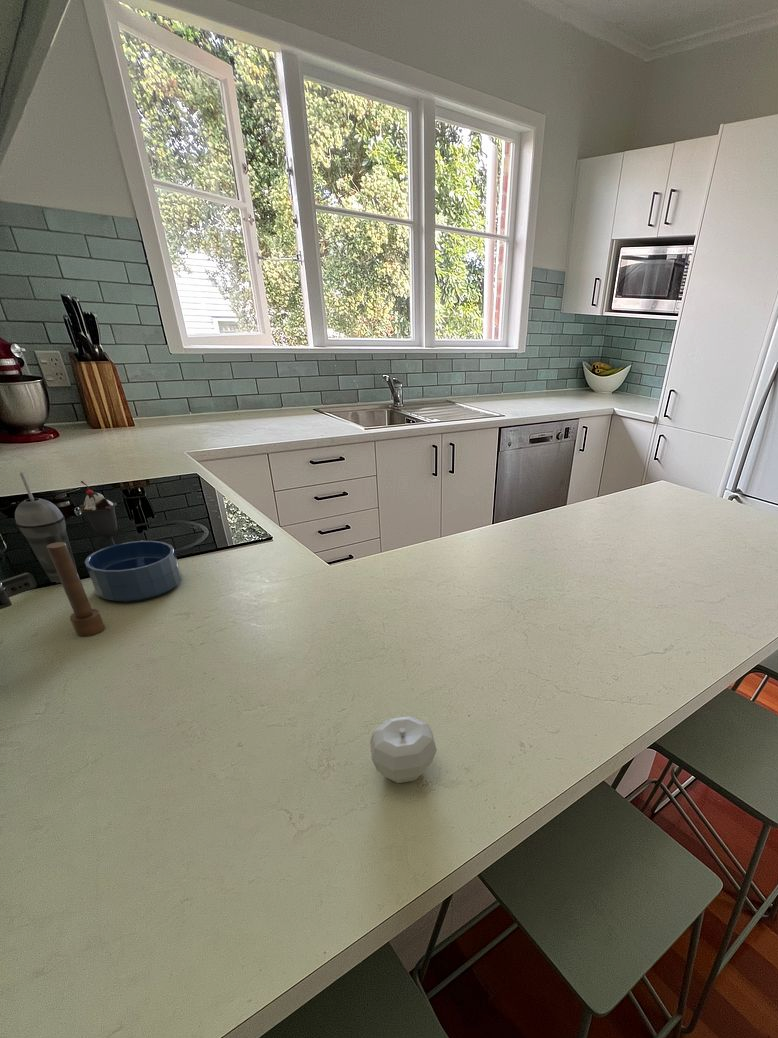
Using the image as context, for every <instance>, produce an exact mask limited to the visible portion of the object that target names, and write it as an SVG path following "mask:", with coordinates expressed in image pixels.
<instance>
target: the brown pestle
mask: <svg viewBox="0 0 778 1038" xmlns="http://www.w3.org/2000/svg"><path fill="white" fill-rule="evenodd" d="M47 549H48V552H49V554H50V556H51V559H52V561H53V564H54V566H55V568H56V571H57V573H58V576H59V578H60V580H61V583H60V584H61V585H62V588H63V590H64V592H65V595H66V597H67V599H68V603H69V604H70V607H71V610H72V611H73V613H71V615H70V616H69V620H70V622H71V625H72V627H73V630H74V631H75V633H76V635H77V636H79V637H92V636H95V635H97V634H100V633H101V632H103V631H104V630H105V628H106V627H105V623H104V621H103V619H102V616H101V614H100V611H99V610H98V609H96V608H92V607H91V603H90V601H89V599H88V595H87V594H86V591H85V589H84V586H83V584H82V581H81V578H80V576H79V573H78V570H77V571H76V569H77V567H76V568H75V566H74V563H73V561H72V558H71V556H70V553H69V551H68V548H67V546H66V543H64V542H56V543H52V544H49V545H47Z"/></svg>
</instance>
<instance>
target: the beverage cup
mask: <svg viewBox="0 0 778 1038" xmlns="http://www.w3.org/2000/svg"><path fill="white" fill-rule="evenodd" d="M19 476H20V477H21V480H22V482H23V485H24V488H25V490H26V492H27V495H28V498H26V499H24V500H22V501H21V502H20V503H19V504H18V505H17V507H16V508H15V511H14V521H15V525H16V527H17V528H18V529H19V530H20V532H21V533H22V535H23V536H24V537H25V538H26V540H27V542H28V544H29V546H30V547H31V549H32V551H33V552H34V555H35V557H36V559H37V560H38V562H39V564H40V565H41V567H42V569H43V571H44V573H45V575H47V577H48V579H49V581H50V582H51V583H53V582H56V583H55V584H62V583H61V580H60V578H59V576H58V573H57V571H56V568H55V566H54V564H53V561H52V559H51V556H50V554H49V552H48V549H47V545H49V544H52V543H56V542H64V543H66V546H67V548H68V551H69V553H70V556H71V558H72V561H73V563H74V566H75V568H76V571H77V572H78V569H77V564H76V560H75V558H74V554H73V550H72V546H71V543H70V539H69V536H68V532H67V525H66V521H65V516H64V515H63V512H61V510H60V509H59V508H58V507H57V506H56V505H55V504H54V503H53V502H51V501H49V500H47V499H44V498H40V497H34V495H33V493H32V491H31V488H30V486H29V483H28V481H27V479H26V475H25V474H24V472H23V471H22V472H19Z"/></svg>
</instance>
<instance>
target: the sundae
mask: <svg viewBox="0 0 778 1038" xmlns="http://www.w3.org/2000/svg"><path fill="white" fill-rule="evenodd" d="M80 483H81V484H83V485H85V486H86V488H87V490H86V491H85V495H86V496H85V498H84V501H83V504H81V505H79V506H78V510H79V511H80V512H81V513H84V514H85V515H86V516H85V517H86V518H87V519H88V521H89V524H90V525H91V527H92V529H93V530H94V531H95V533H96V534H97V535H99V536H101V537H104V538H105V539H106V542H107V545H108V546H107V547H109V546H113V545H116V544H117V543H115V540H114V538H113V537H114V535H115V534H116V533H117V531H118V522H117V516H116V509H115V507H116V506H117V505H118V503H117V502H114V501H110V500H109V499H107V498H105V497H104V495H103V494H101V493H99V492H96V491H93V490H92V489H90V487H89V486H88V485H87V484H86V483H85V482H84V480H80Z"/></svg>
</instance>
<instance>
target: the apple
mask: <svg viewBox="0 0 778 1038" xmlns="http://www.w3.org/2000/svg"><path fill="white" fill-rule="evenodd" d="M369 745H370V754H371V761H372V763H373V765H374V768H375V769H376V771H377V772H378V773H379V774H380V775H381V776H383V777H384V778H387V779H388V780H390V781H393V782H395V783H396V784H402V783H408V782H409V783H410V782H414V781H416V780H417V779H418V778H420V777H421V775H422V774H423V773H425V772H426V770H427V769H428V768H429V767H430V765H431V764H432V763H433V762H434V759H435V756H436V754H437V751H438V749H437V745H436V742H435V737H434V732H433V730H432V728H431V726H430V724H429V723H427V722H425V721H423V720H420V719H417V718H415V717H414V716H412V715H408V716H401V717H393V718H387V719H386V720H385V721H384V722H383V723H382V724H380V725H379V726H378V727H376V729H375V730H373V731H372V734H371V738H370V741H369Z"/></svg>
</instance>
